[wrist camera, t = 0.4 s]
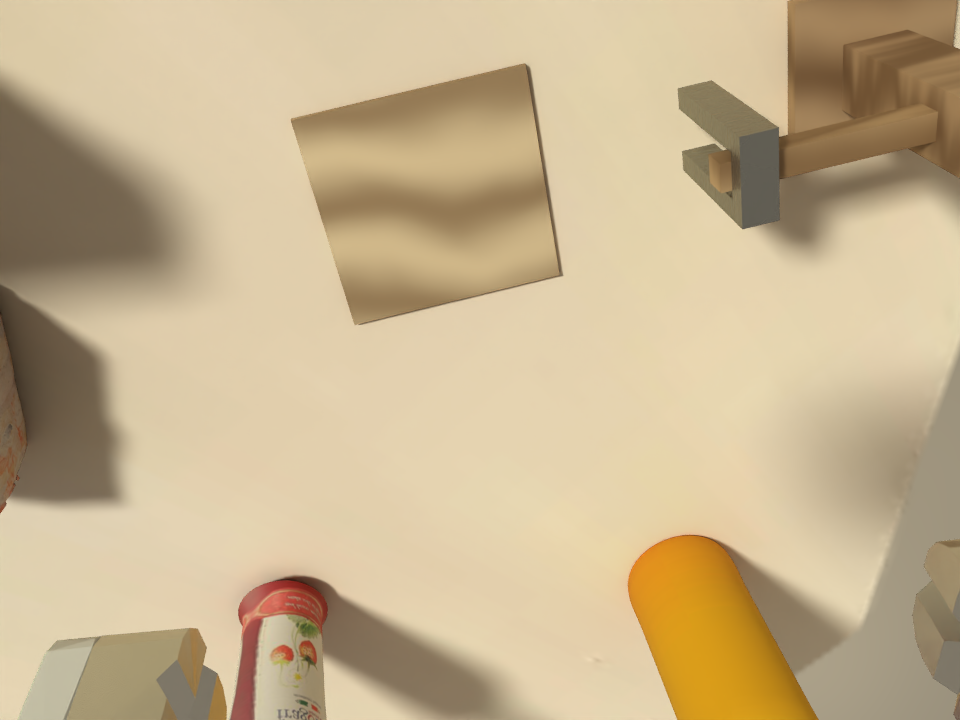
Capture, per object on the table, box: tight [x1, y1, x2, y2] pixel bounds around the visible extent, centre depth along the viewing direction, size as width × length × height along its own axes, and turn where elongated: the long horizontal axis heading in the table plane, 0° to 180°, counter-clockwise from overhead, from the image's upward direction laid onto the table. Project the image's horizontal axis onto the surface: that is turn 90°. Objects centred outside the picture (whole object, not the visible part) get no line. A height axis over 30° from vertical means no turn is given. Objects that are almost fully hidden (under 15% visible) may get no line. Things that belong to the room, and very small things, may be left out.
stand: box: [708, 0, 960, 193], centre depth 50 cm, size 10×19×14 cm, turn 101°
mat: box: [291, 64, 560, 325], centre depth 56 cm, size 14×14×1 cm
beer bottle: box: [628, 535, 818, 720], centre depth 65 cm, size 9×9×29 cm
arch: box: [678, 80, 780, 229], centre depth 49 cm, size 5×2×9 cm, turn 11°
